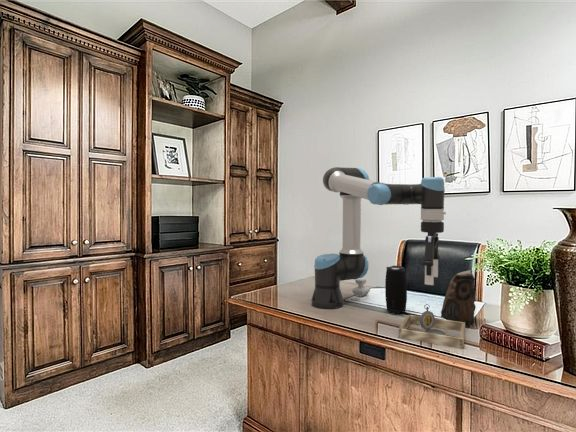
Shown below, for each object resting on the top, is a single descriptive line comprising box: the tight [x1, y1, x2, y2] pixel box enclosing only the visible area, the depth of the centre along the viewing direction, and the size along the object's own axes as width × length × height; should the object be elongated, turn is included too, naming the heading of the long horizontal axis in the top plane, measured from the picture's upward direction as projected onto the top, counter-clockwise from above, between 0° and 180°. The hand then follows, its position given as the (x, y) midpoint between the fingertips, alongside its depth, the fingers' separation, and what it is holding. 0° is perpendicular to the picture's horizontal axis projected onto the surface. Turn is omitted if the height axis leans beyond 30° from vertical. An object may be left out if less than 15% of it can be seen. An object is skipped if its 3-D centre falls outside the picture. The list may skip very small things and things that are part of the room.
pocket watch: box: [419, 303, 446, 336], centre depth 120 cm, size 8×8×10 cm
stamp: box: [351, 278, 371, 297], centre depth 174 cm, size 9×7×8 cm
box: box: [398, 314, 466, 350], centre depth 120 cm, size 20×18×3 cm
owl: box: [440, 269, 476, 327], centre depth 132 cm, size 13×13×20 cm
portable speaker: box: [384, 265, 408, 315], centre depth 146 cm, size 9×9×20 cm
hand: (431, 280), depth 120 cm, fingers open, 13 cm apart
